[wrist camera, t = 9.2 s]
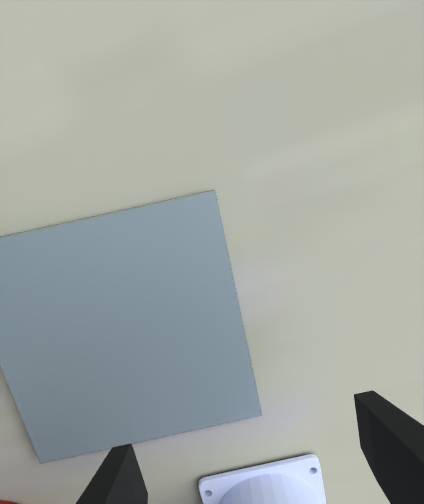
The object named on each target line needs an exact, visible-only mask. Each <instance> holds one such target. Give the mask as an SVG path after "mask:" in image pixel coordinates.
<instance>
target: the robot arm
mask: <svg viewBox="0 0 424 504" xmlns="http://www.w3.org/2000/svg"><path fill="white" fill-rule="evenodd" d="M354 399H355V407H356V415H357V422H358V430H359V438H360V445H361V449H362V451H363V453H364V455H365V457H366V460H367V462H368V464H369V466H370V468H371V470H372V472H373V474H374V476H375V478H376V480H377V482H378V484H379V485H380V487H381V489H382V490H383V492H384V493H385V495H386V497H387V498H388V500H389V502H390V503H391V504H424V425H422V424H421V423H419V422H418V421H416V420H415V419H413V418H412V417H410V416H409V415H407V414H406V413H404V412H403V411H402V410H400V409H399V408H397V407H396V406H394V405H393V404H392V403H390V402H389V401H387V400H386V399H385V398H383V397H382V396H380V395H379V394H377V393H376V392H374V391H368V392H363V393H359V394H354ZM311 468H313V469H311ZM199 491H200V495H201V498H202V502H203V504H326V499H325V493H324V487H323V481H322V475H321V469H320V463H319V460H318V458H317V456H316V455H313V454H308V455H304V456H299V457H295V458H290V459H286V460H281V461H276V462H272V463H267V464H263V465H258V466H253V467H249V468H244V469H240V470H235V471H230V472H226V473H221V474H217V475H212V476H208V477H204V478H201V479H200V481H199ZM206 491H209V492H206ZM147 502H148V493H147V490H146V487H145V483H144V480H143V477H142V474H141V471H140V468H139V465H138V462H137V459H136V456H135V453H134V450H133V447H132V444H131V443H130V444H125V445H121V446H116V447H112V449H111V450H110V452H109V453H108V455H107V456H106V458H105V460H104V461H103V463H102V464H101V466H100V467H99V469H98V471H97V472H96V474H95V475H94V477H93V478H92V480H91V482H90V483H89V485H88V486H87V488H86V489H85V491H84V492H83V494H82V495H81V497H80V498H79V500H78V501H77V503H76V504H147Z"/></svg>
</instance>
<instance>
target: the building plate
mask: <svg viewBox="0 0 424 504" xmlns="http://www.w3.org/2000/svg"><path fill="white" fill-rule="evenodd" d="M0 367H1V369H2V372H3V374H4V377H5V379H6V382H7V384H8V386H9V389H10V391H11V394H12V396H13V399H14V401H15V403H16V406H17V408H18V411H19V413H20V416H21V418H22V420H23V423H24V425H25V428H26V430H27V432H28V435H29V437H30V440H31V442H32V445H33V447H34V449H35V452H36V454H37V457H38V459H39V462H40V464H41V463H46V462H50V461H55V460H60V459H64V458H69V457H73V456H78V455H83V454H87V453H92V452H96V451H101V450H105V449H110V448H112V447H116V446H121V445H125V444H130V443H131V444H133V443H137V442H142V441H147V440H151V439H156V438H160V437H165V436H170V435H174V434H179V433H183V432H188V431H192V430H197V429H202V428H206V427H211V426H215V425H220V424H224V423H229V422H234V421H238V420H243V419H247V418H252V417H257V416H261V415H262V412H261V407H260V402H259V397H258V393H257V388H256V383H255V378H254V374H253V369H252V364H251V359H250V354H249V350H248V345H247V340H246V335H245V331H244V326H243V321H242V316H241V311H240V307H239V302H238V297H237V292H236V288H235V283H234V278H233V273H232V268H231V264H230V259H229V254H228V249H227V245H226V240H225V235H224V230H223V225H222V221H221V216H220V211H219V206H218V202H217V197H216V192H215V190H211V191H207V192H202V193H198V194H193V195H189V196H184V197H180V198H175V199H171V200H166V201H162V202H157V203H153V204H148V205H143V206H139V207H134V208H130V209H125V210H121V211H116V212H112V213H107V214H103V215H98V216H94V217H89V218H85V219H80V220H76V221H71V222H66V223H62V224H57V225H53V226H48V227H44V228H39V229H35V230H30V231H26V232H21V233H17V234H12V235H8V236H3V237H0Z"/></svg>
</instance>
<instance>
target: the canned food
mask: <svg viewBox="0 0 424 504" xmlns="http://www.w3.org/2000/svg"><path fill="white" fill-rule="evenodd" d="M0 504H15V503H12V502H4V501H0Z"/></svg>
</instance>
